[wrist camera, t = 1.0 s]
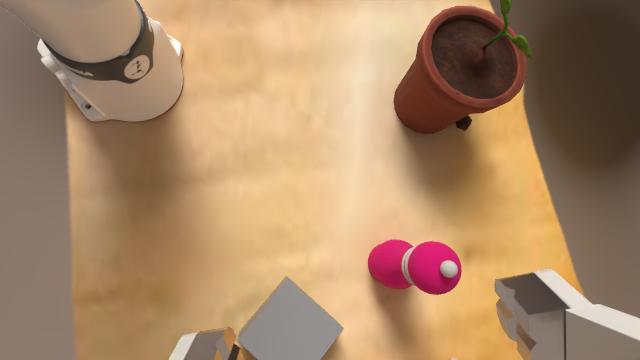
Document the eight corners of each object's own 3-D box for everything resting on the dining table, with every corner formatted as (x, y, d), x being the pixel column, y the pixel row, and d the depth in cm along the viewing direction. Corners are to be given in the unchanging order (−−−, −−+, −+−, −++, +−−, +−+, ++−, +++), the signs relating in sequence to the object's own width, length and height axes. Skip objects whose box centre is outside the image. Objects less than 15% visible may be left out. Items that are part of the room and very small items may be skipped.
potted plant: (361, 80, 60) (424, -34, 36) (448, 33, 65) (554, -94, 41) (416, 161, 58) (521, 99, 34) (500, 106, 64) (643, 18, 40)
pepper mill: (396, 294, 53) (471, 318, 34) (357, 273, 53) (410, 285, 33) (413, 253, 55) (493, 254, 36) (376, 232, 55) (436, 222, 35)
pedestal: (240, 330, 48) (237, 340, 43) (286, 276, 51) (289, 279, 45) (291, 376, 48) (294, 393, 42) (334, 319, 51) (343, 328, 45)
